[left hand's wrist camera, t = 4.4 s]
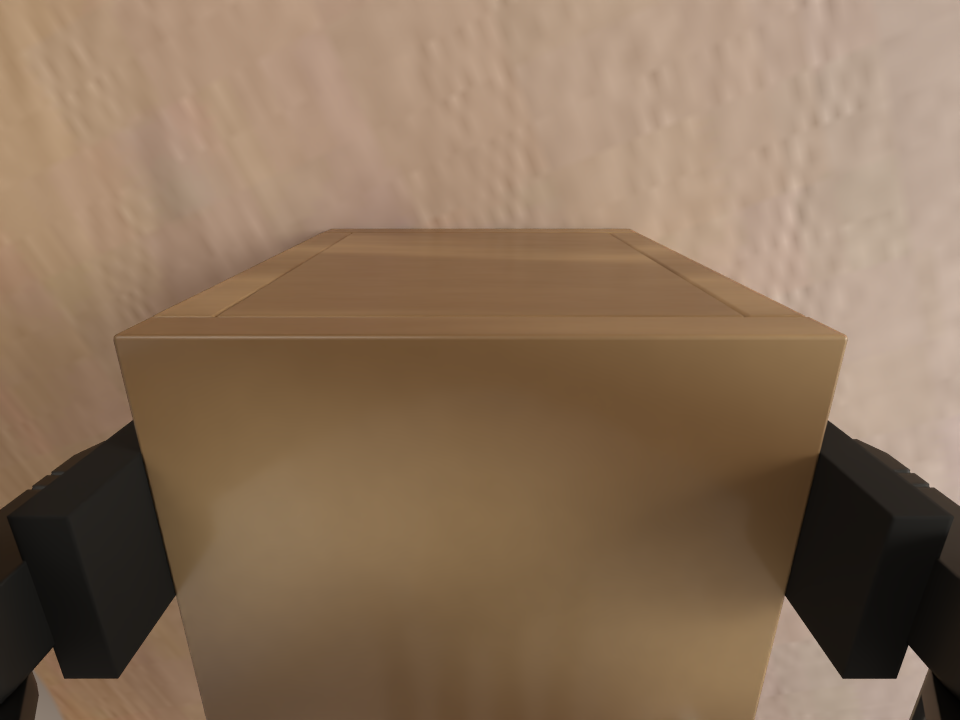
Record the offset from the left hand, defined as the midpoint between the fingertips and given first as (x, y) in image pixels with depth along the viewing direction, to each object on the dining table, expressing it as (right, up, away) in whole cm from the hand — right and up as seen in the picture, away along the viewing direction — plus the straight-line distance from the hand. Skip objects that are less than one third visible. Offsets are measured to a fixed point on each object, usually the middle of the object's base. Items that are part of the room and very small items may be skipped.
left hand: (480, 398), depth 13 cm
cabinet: (0, -2, +8) cm, 8 cm away
